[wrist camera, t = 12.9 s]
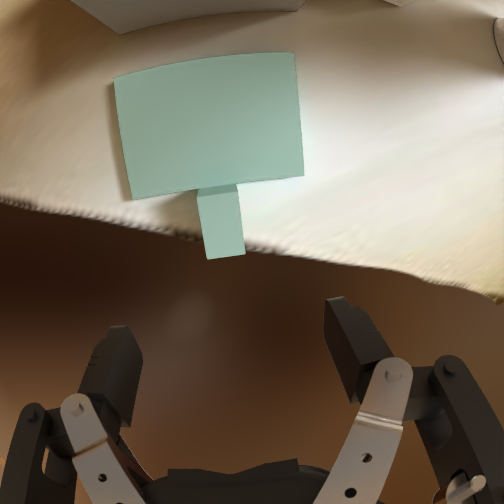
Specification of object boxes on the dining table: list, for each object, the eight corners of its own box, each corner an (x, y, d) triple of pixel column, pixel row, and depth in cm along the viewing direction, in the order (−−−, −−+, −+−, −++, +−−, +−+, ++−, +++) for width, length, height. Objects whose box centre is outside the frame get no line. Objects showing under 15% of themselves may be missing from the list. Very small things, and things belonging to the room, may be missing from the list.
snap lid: (290, 55, 20) (303, 44, 16) (302, 226, 26) (316, 244, 23) (118, 79, 19) (100, 73, 15) (148, 248, 26) (139, 268, 22)
